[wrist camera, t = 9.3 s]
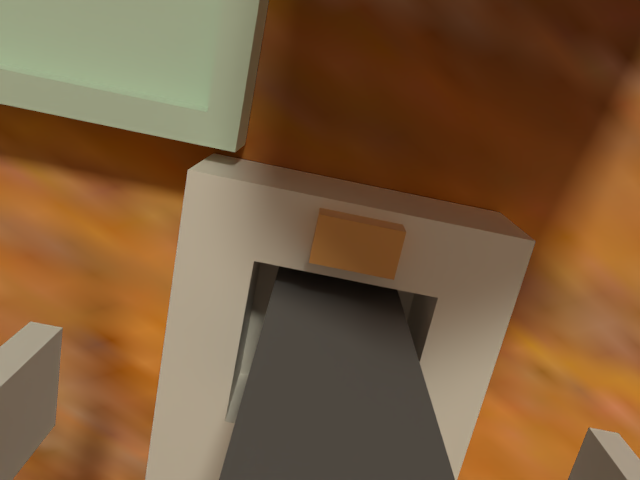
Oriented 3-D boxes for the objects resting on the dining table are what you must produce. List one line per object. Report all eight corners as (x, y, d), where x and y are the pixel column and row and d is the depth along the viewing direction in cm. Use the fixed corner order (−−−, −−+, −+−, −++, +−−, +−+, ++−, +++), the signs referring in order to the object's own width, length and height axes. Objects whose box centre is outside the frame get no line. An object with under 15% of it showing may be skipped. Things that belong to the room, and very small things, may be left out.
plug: (262, 358, 20) (124, 907, 7) (281, 257, 19) (162, 676, 6) (368, 379, 20) (436, 955, 7) (394, 279, 19) (534, 739, 6)
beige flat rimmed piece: (146, 600, 24) (109, 707, 20) (213, 153, 19) (180, 174, 15) (369, 639, 25) (376, 752, 21) (500, 212, 19) (546, 249, 15)
